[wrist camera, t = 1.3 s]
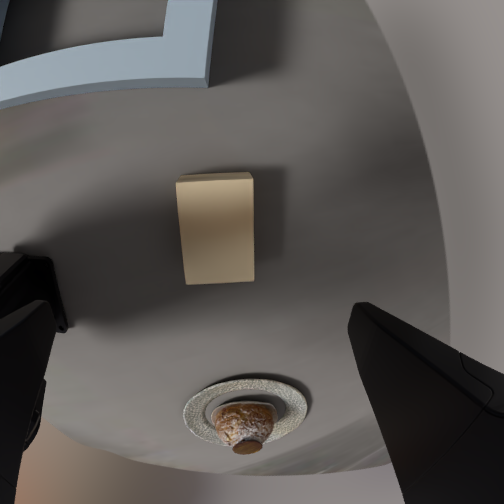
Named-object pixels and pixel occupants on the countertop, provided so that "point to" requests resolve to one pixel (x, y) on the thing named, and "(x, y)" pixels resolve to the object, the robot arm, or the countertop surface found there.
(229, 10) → the countertop surface
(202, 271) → the block
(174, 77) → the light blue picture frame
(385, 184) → the countertop surface
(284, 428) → the pastry
